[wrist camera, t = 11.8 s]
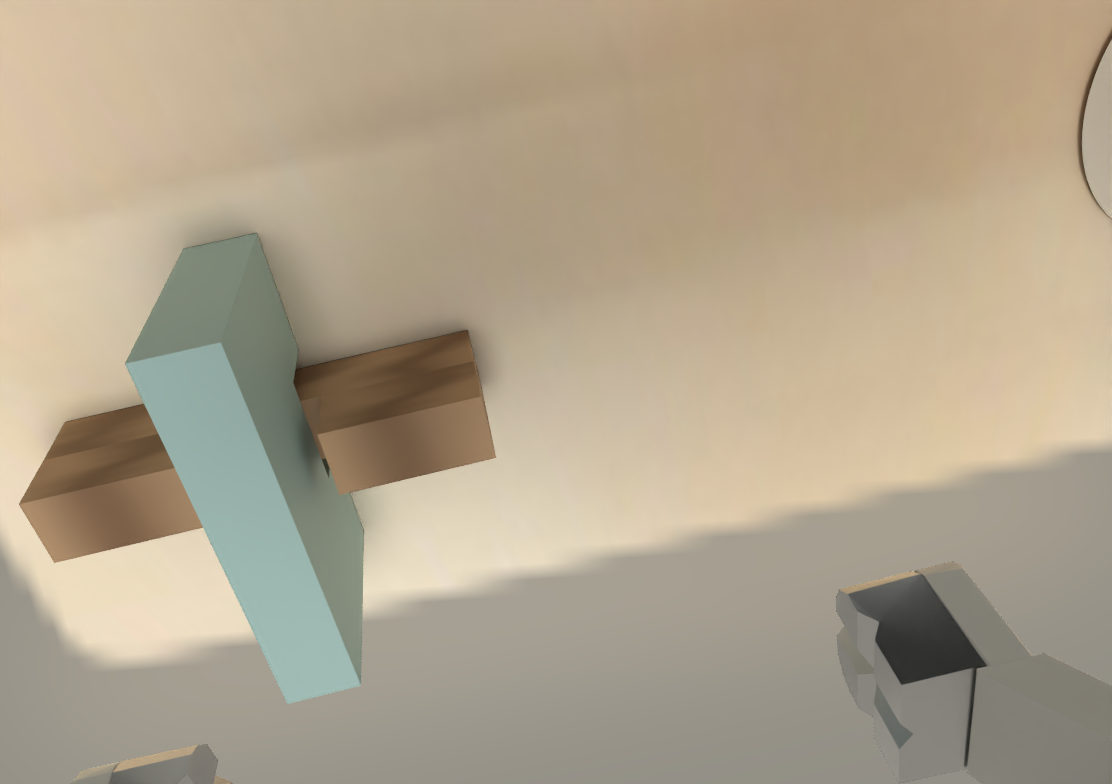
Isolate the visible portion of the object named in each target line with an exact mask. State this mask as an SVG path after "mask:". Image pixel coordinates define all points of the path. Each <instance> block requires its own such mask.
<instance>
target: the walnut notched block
mask: <svg viewBox="0 0 1112 784" xmlns="http://www.w3.org/2000/svg"><path fill="white" fill-rule="evenodd" d="M293 383H294V386H295V389H296V391H297V394H298V397H299V400H300V402H301V405H302V408H303V410H304V413H305V416H306V418H307V421H308V424H309V427H310V429H311V432H312V435H313V437H314V440H315V443H316V445H317V448H318V451H319V454H320V456H321V459H324V458H326V459H327V462H328V465H329V468H330V470H331V473H332V476H333V478H334V481H335V484H336V487H337V489H338V492H339V495H342V494H346V493H350V492H354V491H358V490H363V489H367V488H371V487H375V486H379V485H384V484H388V483H392V482H396V481H400V480H405V479H409V478H413V477H417V476H421V475H426V474H430V473H434V472H438V471H442V470H447V469H451V468H455V467H459V466H463V465H468V464H472V463H476V462H480V461H484V460H489V459H493V458H496V456H495V451H494V446H493V441H492V436H491V431H490V426H489V421H488V416H487V411H486V406H485V402H484V397H483V392H482V387H481V383H480V379H479V375H478V370H477V366H476V362H475V358H474V354H473V350H472V346H471V342H470V338H469V334H468V330H466V331H462V332H458V333H453V334H449V335H445V336H440V337H436V338H431V339H427V340H423V341H418V342H414V343H410V344H405V345H401V346H396V347H392V348H388V349H383V350H379V351H375V352H370V353H366V354H361V355H357V356H353V357H348V358H344V359H340V360H335V361H331V362H326V363H322V364H318V365H313V366H309V367H305V368H300V369H296V370H295V375H294V381H293ZM19 505H20V507H21V509H22V510H23V512H24V513H25V515H26V517H27V518H28V520H29V522H30V523H31V525H32V527H33V528H34V530H35V532H36V533H37V535H38V537H39V538H40V540H41V541H42V543H43V545H44V546H45V548H46V550H47V551H48V553H49V555H50V556H51V558H52V560H53V561H54V563H56V562H60V561H64V560H68V559H73V558H77V557H81V556H85V555H89V554H94V553H98V552H102V551H106V550H110V549H115V548H119V547H123V546H127V545H131V544H136V543H140V542H144V541H148V540H152V539H157V538H161V537H165V536H169V535H173V534H178V533H182V532H186V531H190V530H194V529H199V528H203V526H202V524H201V522H200V520H199V518H198V515H197V513H196V511H195V509H194V507H193V505H192V503H191V501H190V499H189V497H188V495H187V492H186V490H185V488H184V486H183V484H182V482H181V480H180V478H179V476H178V474H177V472H176V469H175V467H174V465H173V463H172V461H171V459H170V457H169V455H168V453H167V451H166V449H165V446H164V444H163V442H162V440H161V438H160V436H159V434H158V432H157V430H156V428H155V426H154V423H153V421H152V419H151V417H150V415H149V413H148V411H147V409H146V407H145V405H144V404H143V405H138V406H134V407H130V408H125V409H121V410H116V411H112V412H108V413H103V414H99V415H95V416H90V417H86V418H81V419H77V420H73V421H68V422H65V423H64V425H63V427H62V429H61V431H60V432H59V434H58V436H57V438H56V439H55V441H54V443H53V445H52V446H51V448H50V450H49V452H48V454H47V455H46V457H45V459H44V461H43V462H42V464H41V466H40V468H39V470H38V471H37V473H36V475H35V477H34V478H33V480H32V482H31V484H30V486H29V487H28V489H27V491H26V493H25V494H24V496H23V498H22V500H21V502H20V503H19Z"/></svg>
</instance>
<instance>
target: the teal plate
mask: <svg viewBox="0 0 1112 784" xmlns="http://www.w3.org/2000/svg"><path fill="white" fill-rule="evenodd" d="M298 350H299V349H298V347H297V344H296V341H295V338H294V335H293V333H292V330H291V327H290V324H289V322H288V319H287V316H286V313H285V310H284V308H283V305H282V302H281V299H280V296H279V294H278V291H277V288H276V285H275V283H274V280H273V277H272V274H271V271H270V269H269V266H268V263H267V260H266V257H265V255H264V252H263V249H262V246H261V244H260V241H259V238H258V235H257V233H255V234H250V235H246V236H241V237H236V238H232V239H227V240H223V241H218V242H214V243H209V244H204V245H200V246H195V247H191V248H186V249H183V251H182V253H181V255H180V257H179V259H178V261H177V263H176V265H175V267H174V269H173V270H172V272H171V274H170V276H169V278H168V280H167V282H166V284H165V286H164V288H163V290H162V292H161V294H160V296H159V298H158V300H157V302H156V304H155V306H154V308H153V310H152V312H151V314H150V316H149V318H148V320H147V322H146V324H145V326H144V327H143V329H142V331H141V333H140V335H139V337H138V339H137V341H136V343H135V345H134V347H133V349H132V351H131V353H130V355H129V357H128V359H127V361H126V363H125V365H126V367H127V369H128V371H129V373H130V375H131V377H132V380H133V382H134V384H135V386H136V388H137V390H138V392H139V394H140V396H141V398H142V400H143V403H144V405H145V407H146V409H147V411H148V413H149V415H150V417H151V419H152V421H153V423H154V426H155V428H156V430H157V432H158V434H159V436H160V438H161V440H162V442H163V444H164V446H165V449H166V451H167V453H168V455H169V457H170V459H171V461H172V463H173V465H174V467H175V469H176V472H177V474H178V476H179V478H180V480H181V482H182V484H183V486H184V488H185V490H186V492H187V495H188V497H189V499H190V501H191V503H192V505H193V507H194V509H195V511H196V513H197V515H198V518H199V520H200V522H201V524H202V526H203V528H204V530H205V532H206V534H207V536H208V538H209V541H210V543H211V545H212V547H213V549H214V551H215V553H216V555H217V557H218V559H219V561H220V564H221V566H222V568H223V570H224V572H225V574H226V576H227V578H228V580H229V582H230V584H231V587H232V589H233V591H234V593H235V595H236V597H237V599H238V601H239V603H240V605H241V607H242V610H243V612H244V614H245V616H246V618H247V620H248V622H249V624H250V626H251V628H252V630H253V633H254V635H255V637H256V639H257V641H258V643H259V645H260V647H261V649H262V651H263V653H264V655H265V657H266V660H267V662H268V664H269V666H270V668H271V670H272V672H273V674H274V676H275V678H276V681H277V683H278V685H279V687H280V689H281V691H282V693H283V695H284V697H285V699H286V701H287V703H288V704H289V703H293V702H297V701H301V700H305V699H309V698H313V697H317V696H321V695H325V694H329V693H333V692H337V691H341V690H345V689H349V688H353V687H357V686H360V685H361V657H362V656H361V654H362V603H363V550H364V530H363V528H362V525H361V522H360V519H359V517H358V514H357V511H356V508H355V505H354V503H353V500H352V497H351V494H350V493H346V494H342V495H339V492H338V489H337V487H336V484H335V481H334V478H333V476H332V473H331V470H330V468H329V465H328V462H327V459H326V458H324V459H321V456H320V454H319V451H318V448H317V445H316V443H315V440H314V437H313V435H312V432H311V429H310V427H309V424H308V421H307V418H306V416H305V413H304V410H303V408H302V405H301V402H300V400H299V397H298V394H297V391H296V389H295V386H294V383H293V381H294V375H295V369H296V363H297V356H298Z"/></svg>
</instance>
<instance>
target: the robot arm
mask: <svg viewBox="0 0 1112 784" xmlns="http://www.w3.org/2000/svg"><path fill="white" fill-rule="evenodd" d="M1082 155H1083V163H1084V169H1085V174H1086V177H1087V181H1088V184H1089V186H1090V189H1091V191H1092V193H1093V195H1094V197H1095V199H1096V201H1097V202H1098V204H1099V205H1100V207H1101V208H1102V209H1103V210H1104V211H1105V213H1106V214H1107V215H1108V216H1109V217H1110V218H1111V219H1112V40H1111V41H1110V43H1109V45H1108V47H1107V49H1106V51H1105V53H1104V55H1103V57H1102V60H1101V62H1100V64H1099V67H1098V69H1097V72H1096V74H1095V77H1094V80H1093V83H1092V86H1091V89H1090V93H1089V96H1088V100H1087V105H1086V109H1085V115H1084V121H1083V131H1082ZM836 612H837V613H838V615H839V617H840V619H841V620H842V622H843V624H844V627H843V628H842V630H841V631H840V632H839V634H838V635H837V645H838V656H839V660H840V664H841V668H842V672H843V675H844V678H845V681H846V683H847V686H848V688H849V691H850V693H851V695H852V697H853V699H854V701H855V703H856V705H857V707H858V708H859V709H860V710H862V711H864V712H866V713H867V714H869V715H871V716H872V717H874V739H875V741H876V742H877V745H878V746H879V748H880V750H881V752H882V754H883V756H884V758H885V759H886V761H887V763H888V765H889V767H890V769H891V771H892V772H893V774H894V776H895V778H896V780H897V782H898V783H899V784H900V783H905V782H910V781H914V780H919V779H923V778H928V777H933V776H937V775H942V774H946V773H951V772H956V771H960V770H964V769H967V773H968V774H969V775H971V776H972V777H973V778H975V779H976V780H978V781H979V782H980V783H982V784H1112V685H1110V684H1108V683H1105V682H1103V681H1101V680H1099V679H1097V678H1095V677H1093V676H1091V675H1089V674H1087V673H1085V672H1083V671H1081V670H1078V669H1076V668H1074V667H1072V666H1070V665H1068V664H1066V663H1064V662H1062V661H1060V660H1058V659H1056V658H1054V657H1052V656H1050V655H1047V654H1045V653H1041V654H1037V655H1032V654H1031V653H1030V652H1029V651H1028V649H1027V648H1026V647H1025V645H1024V644H1023V643H1022V642H1021V640H1020V639H1019V638H1018V637H1017V635H1016V634H1015V633H1014V632H1013V630H1012V629H1011V628H1010V627H1009V625H1008V624H1007V623H1006V621H1005V620H1004V619H1003V618H1002V616H1001V615H1000V614H999V613H998V611H997V610H996V609H995V607H994V606H993V605H992V604H991V602H990V601H989V600H988V599H987V597H986V596H985V595H984V594H983V592H982V591H981V590H980V588H979V587H978V586H977V585H976V583H975V582H974V581H973V580H972V578H971V577H970V576H969V575H968V573H966V571H965V570H964V568H963V567H962V566H961V565H959V564H958V563H956V562H954V561H952V562H948V563H944V564H940V565H935V566H931V567H928V568H923V569H920V570H915V571H914V572H912V571H909V572H905V573H901V574H898V575H894V576H890V577H886V578H882V579H878V580H874V581H870V582H866V583H862V584H858V585H854V586H850V587H847V588H842V589H839V590H838V593H837V596H836ZM217 764H218V759H217V758H216V756H215V755H214V753H213V752H212V750H211V749H210V748H209V746H208V745H207V744H203V745H195V746H190V747H186V748H181V749H177V750H171V751H167V752H162V753H158V754H153V755H149V756H143V757H139V758H134V759H129V760H125V761H121V762H118V763H113V764H109V765H104V766H100V767H95V768H91V769H86V770H82V771H81V772H80V773H79V774H78V775H77V777H76V778H75V779H74V780H73V781H72V783H71V784H232V782H230V781H227V780H225V779H223V778H221V777H218V776H216V775H215V774H216V769H217Z"/></svg>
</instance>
